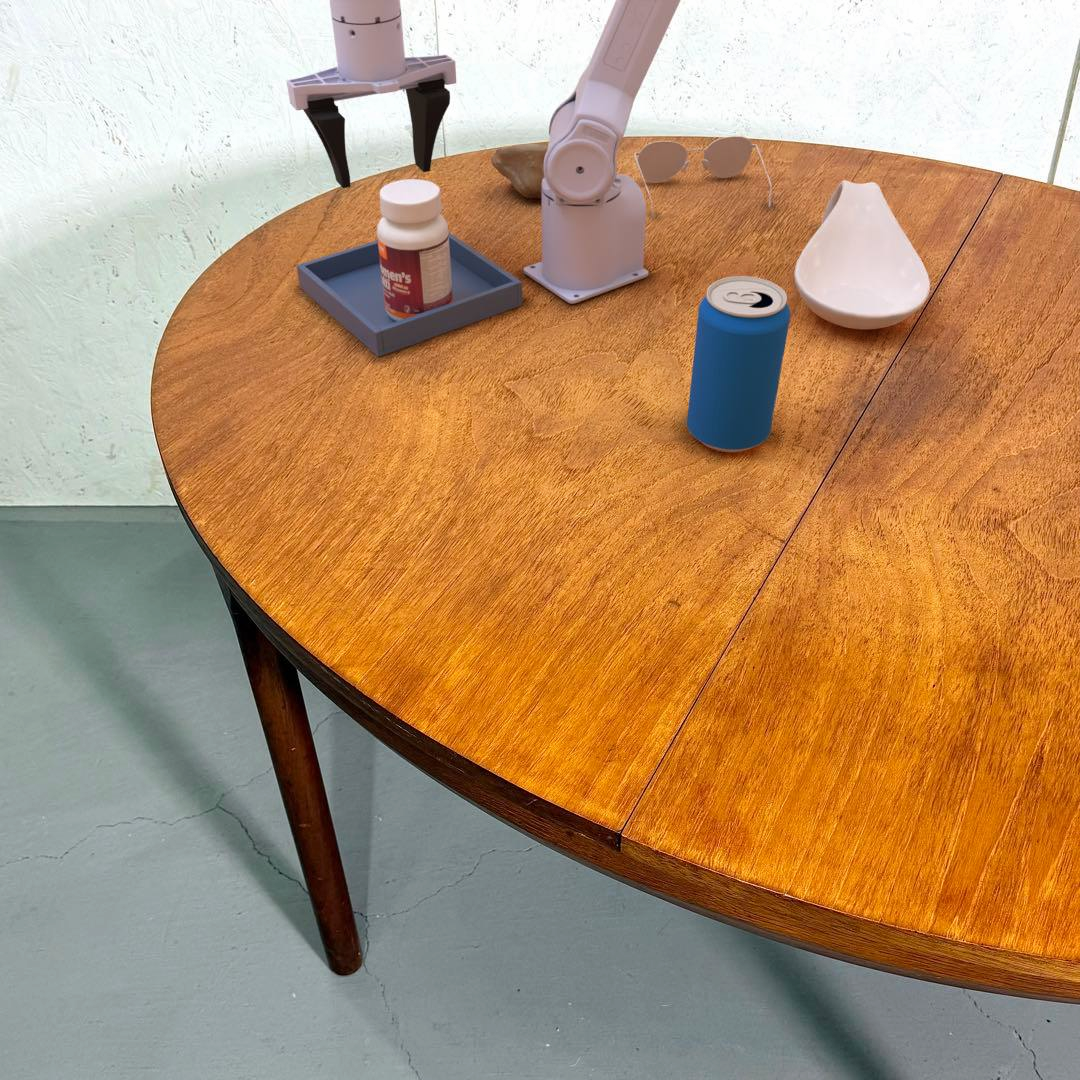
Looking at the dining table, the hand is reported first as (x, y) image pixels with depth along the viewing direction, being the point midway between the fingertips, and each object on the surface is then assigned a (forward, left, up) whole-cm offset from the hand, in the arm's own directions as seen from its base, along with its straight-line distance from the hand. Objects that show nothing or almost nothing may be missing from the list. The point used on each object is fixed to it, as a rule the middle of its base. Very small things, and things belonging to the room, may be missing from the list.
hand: (383, 175), depth 96 cm
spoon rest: (-34, +27, -10) cm, 45 cm away
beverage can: (-8, +38, -10) cm, 40 cm away
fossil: (-22, -7, -10) cm, 25 cm away
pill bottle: (+2, +8, -10) cm, 13 cm away
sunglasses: (-36, +4, -10) cm, 37 cm away
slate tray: (+1, +5, -10) cm, 11 cm away
